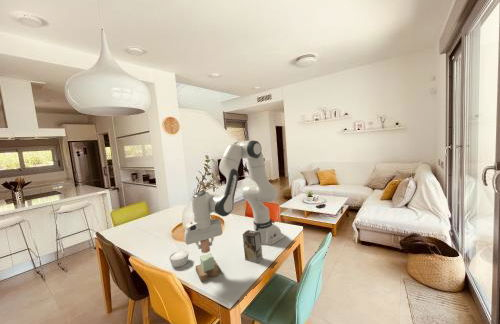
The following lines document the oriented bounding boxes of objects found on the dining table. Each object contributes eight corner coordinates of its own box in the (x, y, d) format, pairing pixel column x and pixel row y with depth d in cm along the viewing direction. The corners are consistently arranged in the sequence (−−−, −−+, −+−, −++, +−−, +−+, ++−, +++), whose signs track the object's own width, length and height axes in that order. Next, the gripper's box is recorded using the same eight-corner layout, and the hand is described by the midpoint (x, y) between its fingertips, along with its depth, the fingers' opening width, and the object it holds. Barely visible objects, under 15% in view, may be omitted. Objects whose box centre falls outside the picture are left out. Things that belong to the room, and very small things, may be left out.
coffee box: (263, 258, 125) (260, 232, 123) (257, 263, 120) (255, 236, 118) (250, 254, 130) (248, 229, 129) (244, 259, 125) (242, 234, 123)
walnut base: (214, 264, 123) (214, 259, 122) (221, 274, 113) (220, 268, 113) (196, 271, 118) (195, 266, 118) (201, 281, 108) (200, 276, 108)
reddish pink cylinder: (208, 247, 117) (207, 237, 116) (211, 251, 113) (209, 240, 112) (200, 250, 115) (199, 239, 114) (202, 253, 111) (201, 243, 110)
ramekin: (173, 259, 133) (172, 251, 132) (191, 256, 134) (190, 249, 133) (167, 269, 122) (166, 261, 121) (187, 267, 123) (186, 258, 122)
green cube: (211, 262, 119) (210, 252, 119) (214, 268, 114) (213, 257, 113) (201, 266, 116) (199, 256, 116) (203, 272, 111) (202, 261, 111)
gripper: (219, 216, 120) (221, 239, 121) (182, 225, 111) (185, 250, 112) (222, 219, 114) (225, 243, 116) (184, 229, 105) (187, 255, 107)
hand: (205, 246), depth 114 cm, fingers closed on reddish pink cylinder, 5 cm apart
